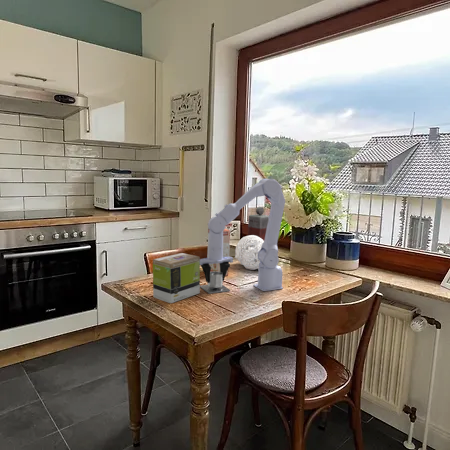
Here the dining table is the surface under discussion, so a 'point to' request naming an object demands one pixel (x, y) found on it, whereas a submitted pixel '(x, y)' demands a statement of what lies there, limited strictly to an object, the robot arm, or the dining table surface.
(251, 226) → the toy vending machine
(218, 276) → the collar
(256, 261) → the cauliflower
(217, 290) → the duct stub
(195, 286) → the tea box
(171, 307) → the dining table surface
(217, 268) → the cracker box
